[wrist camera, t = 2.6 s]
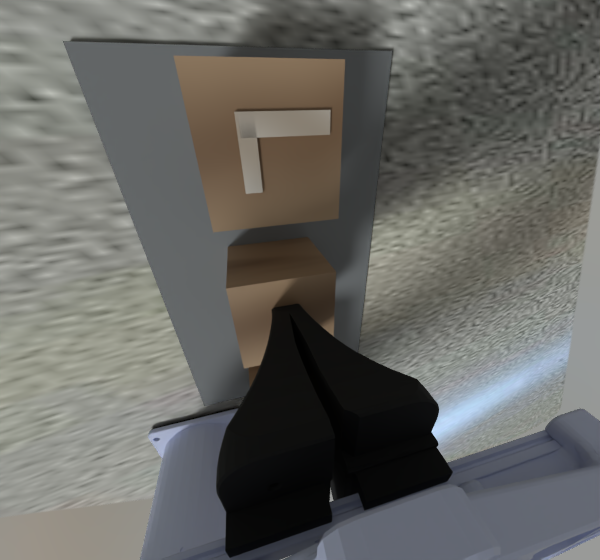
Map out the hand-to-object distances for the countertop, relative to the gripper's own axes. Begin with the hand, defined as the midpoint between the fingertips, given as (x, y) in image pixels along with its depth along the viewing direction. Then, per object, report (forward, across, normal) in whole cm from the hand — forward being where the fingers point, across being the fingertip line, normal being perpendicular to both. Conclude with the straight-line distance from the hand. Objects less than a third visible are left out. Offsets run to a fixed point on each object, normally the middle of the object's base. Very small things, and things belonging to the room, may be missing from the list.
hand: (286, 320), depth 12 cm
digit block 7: (+5, 0, -7) cm, 9 cm away
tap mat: (+5, 0, 0) cm, 5 cm away
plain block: (+5, 0, 0) cm, 5 cm away
